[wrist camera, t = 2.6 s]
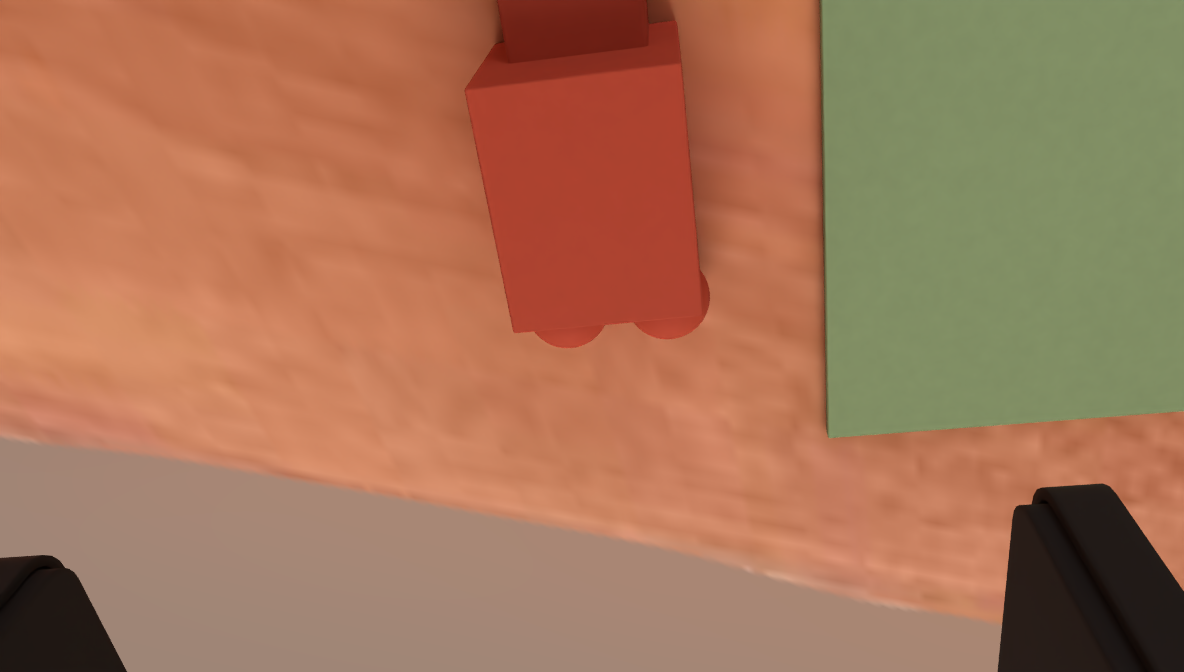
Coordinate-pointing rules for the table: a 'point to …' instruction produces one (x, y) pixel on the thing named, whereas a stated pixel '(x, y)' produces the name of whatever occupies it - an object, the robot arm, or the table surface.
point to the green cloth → (1001, 211)
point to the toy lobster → (589, 170)
